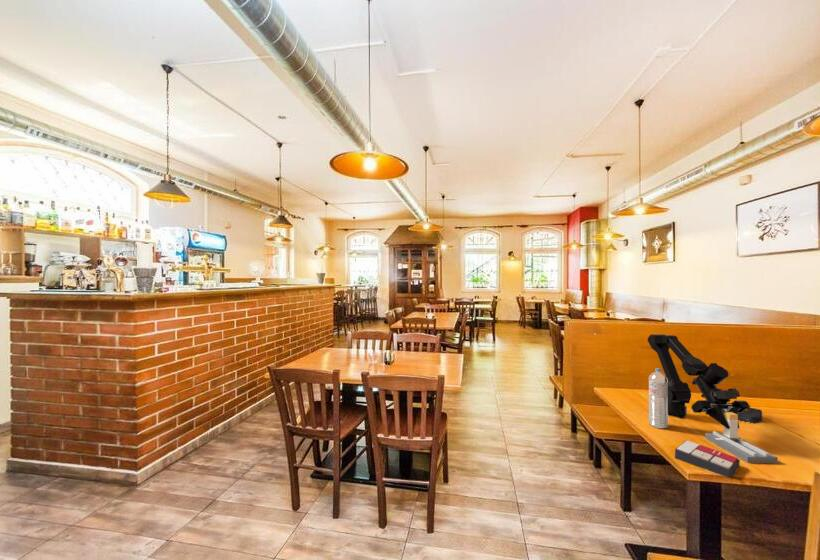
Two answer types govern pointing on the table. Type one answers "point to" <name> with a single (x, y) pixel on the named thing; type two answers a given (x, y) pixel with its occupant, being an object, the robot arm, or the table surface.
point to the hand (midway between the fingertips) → (733, 428)
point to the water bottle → (658, 400)
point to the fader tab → (731, 426)
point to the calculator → (707, 458)
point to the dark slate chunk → (747, 415)
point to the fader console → (741, 448)
